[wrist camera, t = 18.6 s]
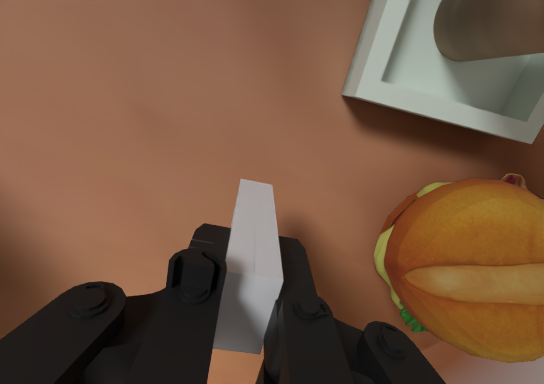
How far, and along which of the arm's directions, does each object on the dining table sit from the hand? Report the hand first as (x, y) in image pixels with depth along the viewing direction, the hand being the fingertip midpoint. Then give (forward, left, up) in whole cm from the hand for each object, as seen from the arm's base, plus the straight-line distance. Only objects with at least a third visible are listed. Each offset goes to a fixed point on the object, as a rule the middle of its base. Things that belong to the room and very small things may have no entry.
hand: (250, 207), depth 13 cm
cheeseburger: (+1, +14, -5) cm, 15 cm away
